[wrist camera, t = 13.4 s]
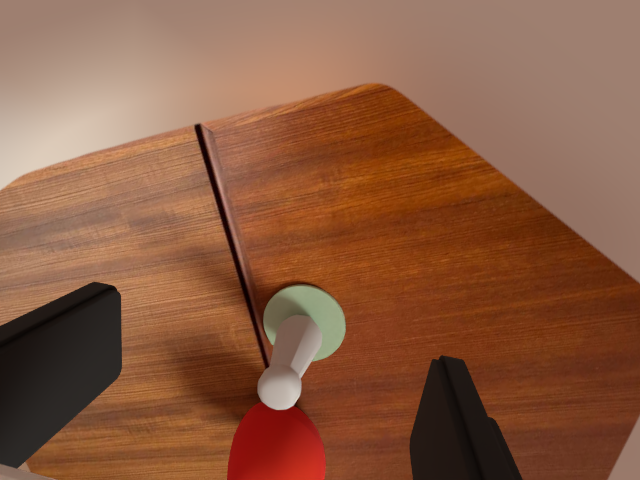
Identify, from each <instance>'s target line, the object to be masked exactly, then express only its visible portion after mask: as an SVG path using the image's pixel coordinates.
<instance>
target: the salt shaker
mask: <svg viewBox="0 0 640 480" xmlns="http://www.w3.org/2000/svg"><path fill="white" fill-rule="evenodd" d="M321 344H322V333H321V331H320V329H319V327H318V325H317V324H316V323H315V322H314V321H313V319H312V318H311V317H310V316H304V315H293V316H290V317H289V318H287V319H286V320H284V321H283V322H282V323H281V324H280V326H279V328H278V330H277V333H276V338H275V343H274V348H273V353H272V358H271V363H270V367H269V368H267V369H266V370H265V371H264V372H263V374H262V376H261V377H260V379H259V381H258V395H259V397H260V399H261V401H262V402H263V403H264V404H266V405H267V406H268V407H270V408H273V409H275V410H286V409H288V408H290V407H292V406H294V404H295V403H296V401H297V399H298V398H299V396H300V393H301V377H302V375H303V374H304V372H305V371H306V369H307V368H308V366H309V364H310V363H311V361H312V360H313V358H314V357H315V355H316V353H317V352H318V350H319V349H320V347H321Z"/></svg>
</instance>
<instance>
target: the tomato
mask: <svg viewBox="0 0 640 480" xmlns="http://www.w3.org/2000/svg"><path fill="white" fill-rule="evenodd" d="M325 465H326V461H325V453H324V446H323V443H322V440H321V438H320V435H319V433H318V430H317V429H316V427H315V425H314V424H313V423H312V421H311V420H310V419H309V418H308V417H307V415H306V414H305V413H303V412H302V411H301V410H300V409H298V408H297V407H295V406H292V407H290V408H288V409H286V410H275V409H273V408H270V407H268V406H267V405H266V404H264V403H263V402H260V403H257V404H256V405H254V406H253V407H252V408H251V409H250V410H249V411H248V412H247V413H246V414H245V416H244V417H243V419H242V420H241V422H240V424H239V426H238V428H237V430H236V433H235V435H234V438H233V442H232V446H231V451H230V457H229V462H228V473H227V480H324V476H325Z"/></svg>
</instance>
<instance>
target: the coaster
mask: <svg viewBox="0 0 640 480" xmlns="http://www.w3.org/2000/svg"><path fill="white" fill-rule="evenodd" d="M293 315H304V316H310V317H311V318H312V319H313V321H314V322H315V323H316V324H317V325H318V327H319V329H320V331H321V333H322V344H321V347H320V349H319V350H318V352H317V353H316V355H315V357H314V358H313V360H312V361H317V360H321V359H324V358H326V357H328V356H329V355H331V354H332V353H334V352H335V351H336V350H337V349H338V347H339V346H340V344H341V343H342V341H343V338H344V335H345V329H346V321H345V316H344V313H343V310H342V308H341V306H340V305H339V303H338V302H337V301H336V300H335V298H334V297H332V296H331V295H330V294H329V293H327V292H326V291H324V290H322V289H321V288H318V287H316V286H312V285H306V284H297V285H291V286H288V287H285V288H283V289H281V290H280V291H278V292H277V293H276V294H275V295H274V296H273V297H272V298H271V299H270V301H269V302H268V304H267V306H266V308H265V311H264V316H263V323H264V329H265V332H266V335H267V337H268V339H269V341H270V342H271V343H272V345H273V346H274V343H275V338H276V333H277V330H278V328H279V326H280V324H281V323H282V322H283V321H284V320H286V319H287V318H289V317H290V316H293Z"/></svg>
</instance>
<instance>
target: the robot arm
mask: <svg viewBox="0 0 640 480" xmlns="http://www.w3.org/2000/svg"><path fill="white" fill-rule="evenodd" d="M121 369H122V342H121V295H120V293H119V292H117V289H116V287H114V286H112V285H108V284H103V283H98V282H93V283H90V284H88V285H86V286H84V287H81V288H79V289H77V290H75V291H73V292H71V293H69V294H67V295H65V296H62V297H60V298H58V299H56V300H54V301H52V302H50V303H48V304H46V305H44V306H41V307H39V308H37V309H35V310H33V311H31V312H29V313H27V314H25V315H23V316H20V317H18V318H16V319H14V320H12V321H10V322H8V323H6V324H4V325H2V326H0V480H57V479H53V478H49V477H46V476H42V475H38V474H35V473H31V472H27V471H24V470H20V469H17V468H18V467H19V466H21V465H22V464H23V463H24V462H25V461H26V460H27V459H28V458H29V457H31V456H32V455H33V454H34V453H35V452H36V451H37V450H38V449H40V448H41V447H42V446H43V445H44V444H45V443H46V442H47V441H48V440H50V439H51V438H52V437H53V436H54V435H55V434H56V433H57V432H58V431H60V430H61V429H62V428H63V427H64V426H65V425H66V424H67V423H68V422H70V421H71V420H72V419H73V418H74V417H75V416H76V415H77V414H78V413H80V412H81V411H82V410H83V409H84V408H85V407H86V406H87V405H88V404H90V403H91V402H92V401H93V400H94V399H95V398H96V397H97V396H99V395H100V394H101V393H102V392H103V391H104V390H105V389H106V388H107V387H109V386H110V385H111V384H112V383H113V382H114V381H115V380H116V379H117V378H118V376H119V375H120V372H121ZM410 457H411V466H412V474H413V480H523V479H522V477H521V475H520V473H519V470H518V468H517V466H516V464H515V462H514V459H513V457H512V455H511V453H510V450H509V448H508V446H507V444H506V442H505V439H504V437H503V435H502V433H501V431H500V428H499V426H498V424H497V423H496V421H495V420H494V419H493V418H491V417H488V416H487V413H486V411H485V409H484V406H483V404H482V402H481V399H480V397H479V395H478V392H477V390H476V388H475V385H474V383H473V381H472V378H471V376H470V374H469V371H468V369H467V367H466V364H465V362H464V361H463V360H462V359H457V358H452V357H448V356H443V355H442V356H440V358H439V360H436V359H433V360H432V362H431V365H430V368H429V372H428V376H427V379H426V383H425V386H424V390H423V394H422V397H421V401H420V405H419V408H418V412H417V415H416V419H415V423H414V426H413V430H412V434H411V438H410Z"/></svg>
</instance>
